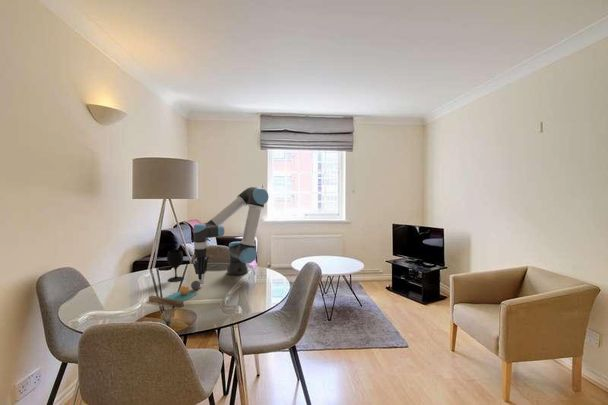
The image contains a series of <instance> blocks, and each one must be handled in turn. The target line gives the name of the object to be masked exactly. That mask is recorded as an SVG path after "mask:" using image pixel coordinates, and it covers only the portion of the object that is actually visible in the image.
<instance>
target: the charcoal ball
mask: <svg viewBox="0 0 608 405" xmlns="http://www.w3.org/2000/svg"><path fill="white" fill-rule="evenodd" d="M190 287H191V289H192V290H194V291H195V290H196V291H197V290H198V289H200V288H201V284H200V282H199V280H193V281H192V282H191V284H190Z"/></svg>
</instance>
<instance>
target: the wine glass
mask: <svg viewBox="0 0 608 405" xmlns="http://www.w3.org/2000/svg"><path fill="white" fill-rule="evenodd" d="M166 254H167V255H166V262H167V264H168V265H169V266H170V267H172V268H173V269H174V276H172V277H170V278H168V279H167V281H168V282H169V283H176V282H177V283H178V282H181V281H183V280H185V278H184V276H178V274H177V270H178V268H180V266H181V265H182V264H183V261H184V254H183V250H182V249H181V250H180V249H172V250H169V251H168V252H167V253H166Z"/></svg>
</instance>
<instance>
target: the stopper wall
mask: <svg viewBox="0 0 608 405" xmlns="http://www.w3.org/2000/svg"><path fill="white" fill-rule="evenodd" d="M148 301H149V302H154V303H158V304H163V305H166V306H173V307H177V308H182V307H184V305H185V304H184V301H183V302H182V301H177V300H173V299H168V298H165V297H162V296H157V295H153V294H151V295H150V296H148Z"/></svg>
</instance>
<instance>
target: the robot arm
mask: <svg viewBox="0 0 608 405" xmlns="http://www.w3.org/2000/svg"><path fill="white" fill-rule="evenodd" d="M268 201H269V193H268V191H267V190H266V189H265V188H263V187H259V186H255V187H254V186H251V187H247V188H246V189H244V190H243V191H242V192H241V193H239V194H238V195H237V196H236V199H235V200H233V201H232V202H231V203H229V204H227V206H226V207H224V208H223V209H222V210H221V211H219V213H217V214H216V215H215V216H214V217H212V218H211V219H210V220H209V221H207V222H204V223H196V224H194V225H193V231H192V232H193V245H194V246H193V247H194V249H193V252H194V253H193V254H194V260H192V261H191V263H192V264H193V268H194V272H195V275H197V276H198V281H199V282H200V285H204V284H205V274H206V272H207V269H208V263H209V262H208V260H209V258H210V257H209V256H207V251H208V250H207V239H210V238H211V239H213V238H219V237H223V236H224V235H225V227H224V226H223V224H224V223H225V222H227V220H229V219H230V218H231V217H232V216H234V215H235V214H236V213H237V212H239V211H240V210H241V209H242V208H243V207H247V206H248V211H247V216H246V221H245V225H244V230H243V233H242V234H243V235H242V238H241V241H232V242H229V244H228V257H229V258H228V265H227V270H226V274H227V275H230V276H242V275H245V274H247V273H249V270H248V266H247V265H248V264H252V262H255V260H256V259H257V250H256V246H257V245H256V243H255V241H256V240H255V239H256V237H257V236H256V235H257V230H258V226H259V221H260V216H261V210H263V209H264V207H265V204H266V203H268Z"/></svg>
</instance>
